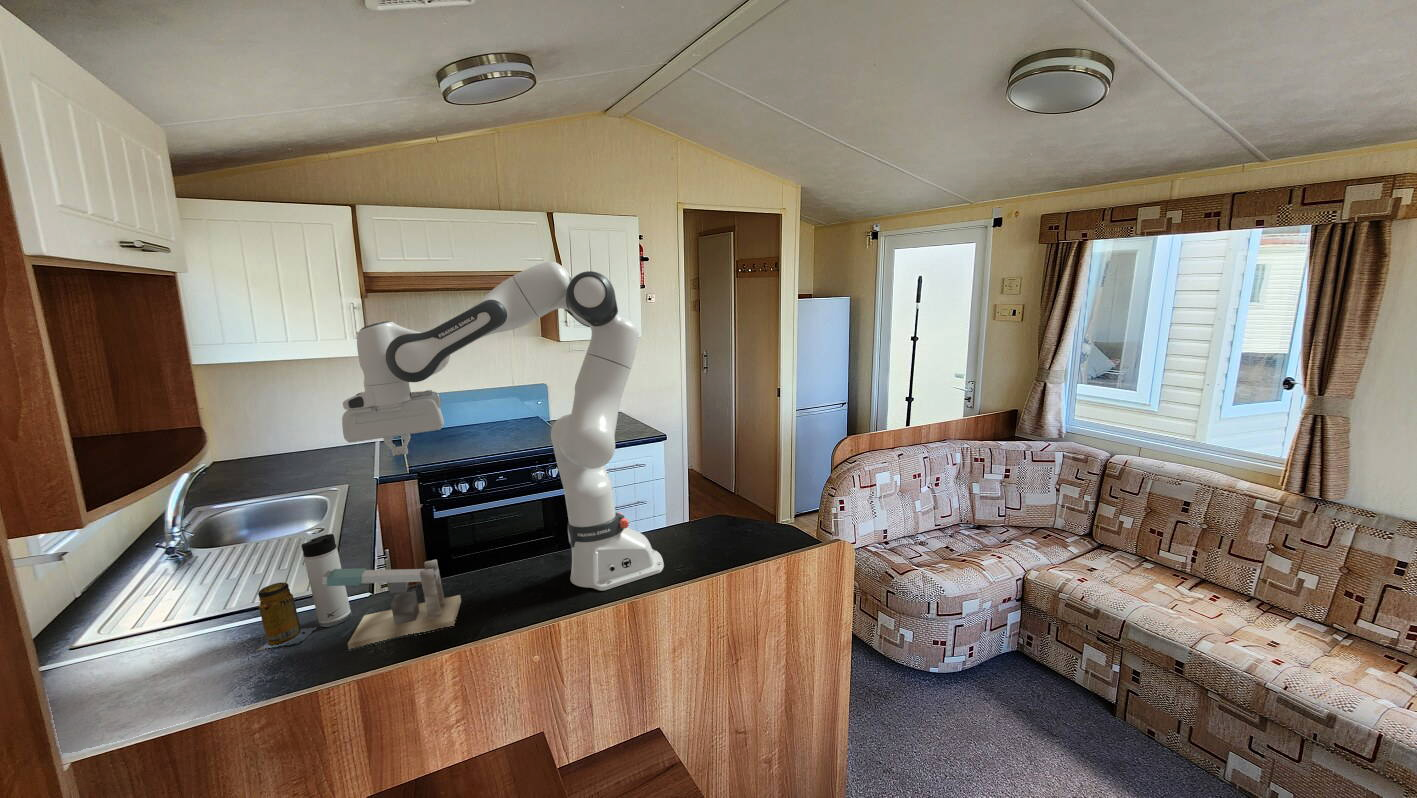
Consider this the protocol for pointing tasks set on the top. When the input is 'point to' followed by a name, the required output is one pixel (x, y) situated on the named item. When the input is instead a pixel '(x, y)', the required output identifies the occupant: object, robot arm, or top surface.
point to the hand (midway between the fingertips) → (400, 454)
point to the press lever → (375, 577)
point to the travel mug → (319, 561)
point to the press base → (391, 630)
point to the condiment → (278, 614)
